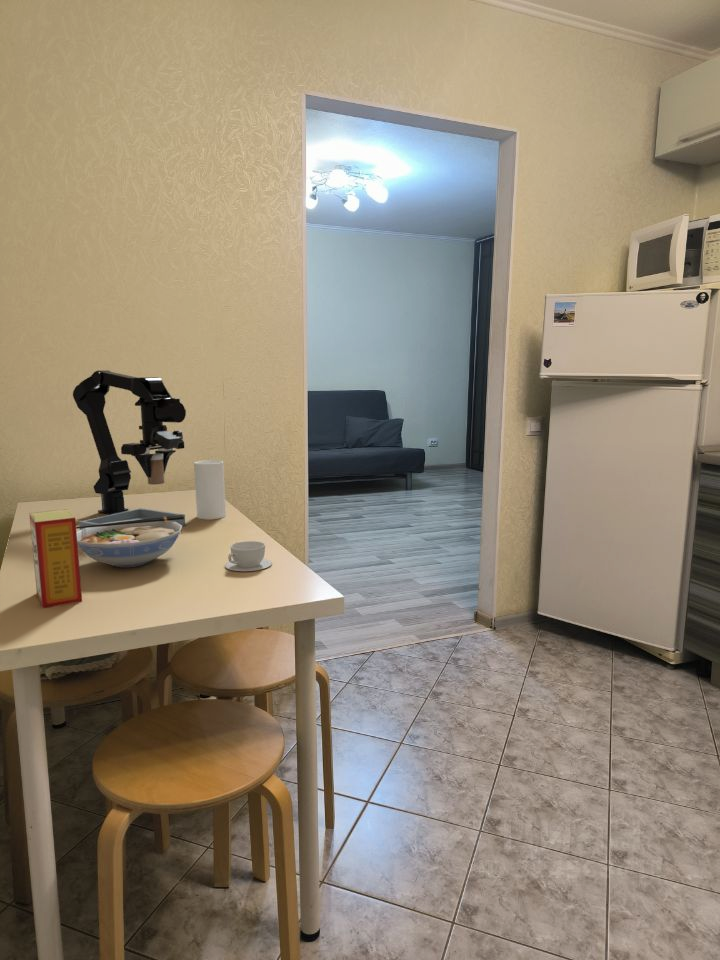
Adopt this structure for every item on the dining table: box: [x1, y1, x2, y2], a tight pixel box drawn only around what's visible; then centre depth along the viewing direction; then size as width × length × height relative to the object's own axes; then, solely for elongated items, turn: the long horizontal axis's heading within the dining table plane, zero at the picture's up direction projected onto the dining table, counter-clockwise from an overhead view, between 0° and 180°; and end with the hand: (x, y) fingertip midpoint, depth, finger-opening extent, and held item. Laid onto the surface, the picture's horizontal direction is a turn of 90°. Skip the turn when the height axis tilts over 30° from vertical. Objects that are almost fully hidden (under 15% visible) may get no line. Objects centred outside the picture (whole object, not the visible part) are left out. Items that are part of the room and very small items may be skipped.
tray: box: [78, 507, 186, 530], centre depth 176 cm, size 18×20×3 cm
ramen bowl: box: [76, 515, 184, 569], centre depth 144 cm, size 25×23×8 cm
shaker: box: [147, 452, 166, 485], centre depth 188 cm, size 5×5×8 cm
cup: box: [193, 459, 227, 520], centre depth 190 cm, size 8×8×16 cm
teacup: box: [224, 540, 273, 572], centre depth 141 cm, size 10×10×5 cm
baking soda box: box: [29, 509, 83, 609], centre depth 121 cm, size 10×6×16 cm
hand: (155, 476), depth 189 cm, fingers closed on shaker, 5 cm apart
